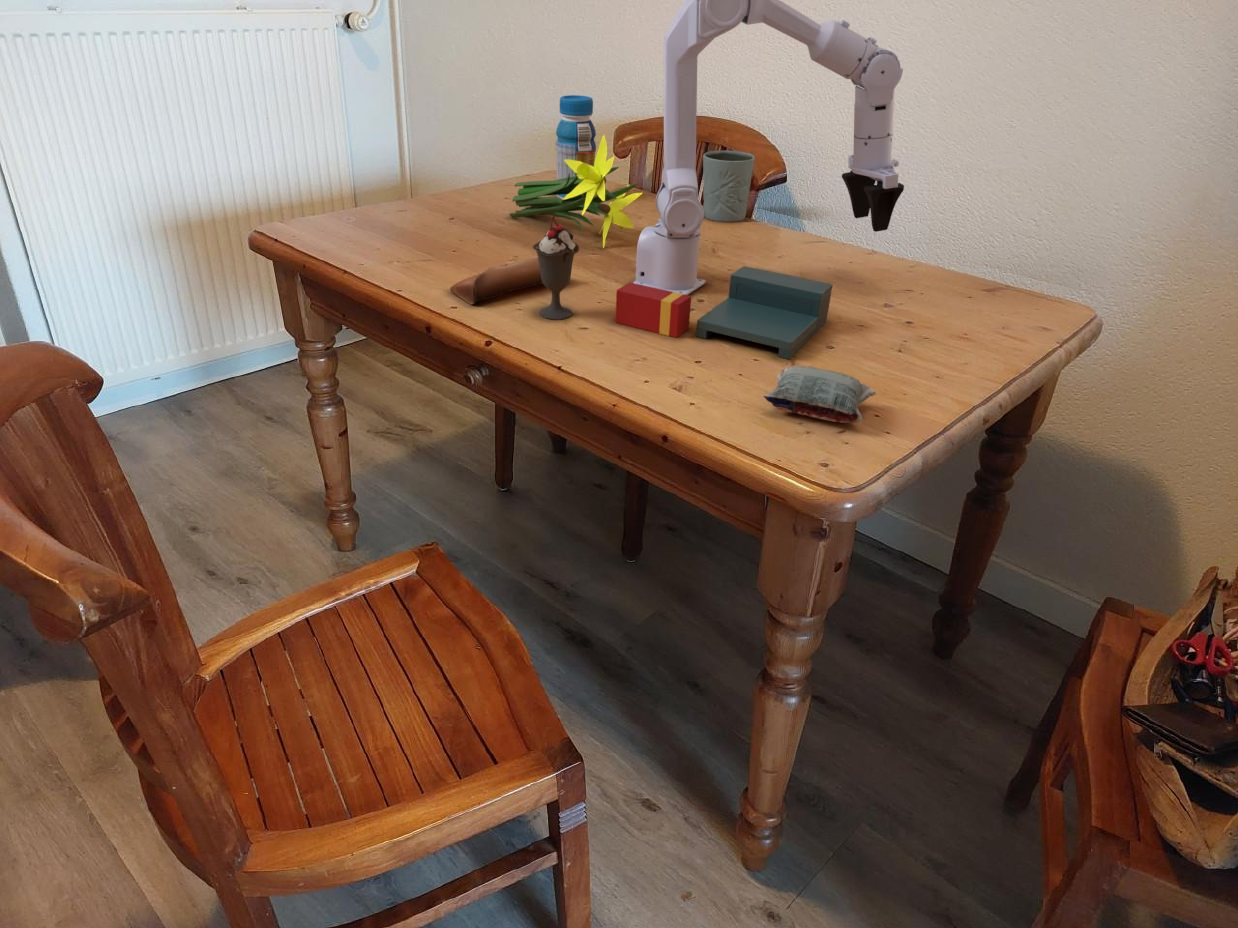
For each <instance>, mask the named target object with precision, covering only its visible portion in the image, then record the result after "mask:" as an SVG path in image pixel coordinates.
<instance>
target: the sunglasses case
mask: <svg viewBox="0 0 1238 928" xmlns="http://www.w3.org/2000/svg"><path fill="white" fill-rule="evenodd" d="M542 284H543V283H542V278H541V274H540V267H539V260H538V257H532V258H531V257H530V258H526V259H522V260H521V259H520V260H517V261H514V262H510V263H503V264H500V265H499V266H491V267H488V268H487V269H485V270H484V271H482V273H478V274H475V275H472V276H469V277H467V278H464V279H462V280H460V281H458V282H456V283H454V284H453V285H451V286H450V289H449V290H450V292H452V293H453V294H454V295H455V296H456V297H458V298H459V299H460V300H462V301H464V303H467V304H468V305H470V306H472V305H475V304H476V303H477V302H483V301H486V300H488V299H489V300H490V299H492V298H494V297H498V296H500V295H502V294H506V293H509V292H511V291H516V290H521V289H525V288H530V287H533V286H535V285H542ZM543 285H544V284H543Z"/></svg>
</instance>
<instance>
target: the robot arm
mask: <svg viewBox="0 0 1238 928" xmlns="http://www.w3.org/2000/svg"><path fill="white" fill-rule="evenodd" d="M741 23H743V24H744V25H749V26H750V25H756V24H761V23H762V24H765V25H766V26H768V27H770V28H772V29H774V30H776V31H778V32H780V33H782V34H784V35H786V36H788V37H790V38H792V39H794V40H795V41H798V42H799V43H802V44H803V45H806V47H807V49H808V54H809V57H810V59H811V61H812V62H814V63H817V64H819V65H820V66H822V67H824V68H826V69H828V70H829V71H831V72H833V73H835V74H837V75H838V76H840V77H842V78H844V79H846V80H850V82H851V83H852V84H853V85H854V86H855V87H854V107H853V108H854V109H853V154H851V155H850V154H849V155H848V160H847V161H848V169H849V170H850V171H849V172H843V173H841V178H842V180H843V182H844V184H845V186H846V189H847V191H848V195H849V199H850V204H851V208H852V213H853V216H854V218H855V219H863V218H867V217H869V214H870V220H871V227H872V232H875V233H876V232H882V231H887V230H888V229H889V225H890V223H891V219H892V215H893V212H894V209H895V207H896V205H897V203H898V200H899V198H900V197H901V194H902V193H903V192H904V190H905V185H904V184H903V183H901V182H899V173H897V172H896V167H899V166H900V161H899V160H898V159H895V158H893V146H894V145H893V143H894V142H893V141H894V124H895V123H894V122H895V121H894V119H895V93H896V91H895V89H896V87H897V86H898V84H899V83H900V81H901V79H902V76H903V71H904V69H903V68H901V63H900V62H901V61H900V60H899V59H898V58H899V57H898V56H897V55H896V54H895V52H893V51H891V50H889V49H886V48H883V47H881V46H880V47H879V45H878V44H877V41H878V40H877V39H875V38H874V37H872V36H868V37H867V38H866V37H864V36H863V35H861V34H860V33H857V32H855V31H854V30H852V29H850V28H849V27H850V25H851V24H850V23H849V22H848V21H846V20H844V19H839V20H838V21H836V20H835V19H829V20H827V21H824V22H822V23H818V22H816V21H815V20H814V19H812V18H810V17H808V16H807V15H805V14H803V13H802V12H800V11H798V10H797V9H795V8H794V7H792V6H790V5H789V4H787V3H786V2H783V1H782V0H683V2H682V4H681V6H680V8H679V10H678V11H677V13H676V15H675V16H674V19H673V20H672V22H671V24H670V25H669V27H668V30H667V31H666V33H665V34H664V37H663V167H662V168H663V169H662V173H661V183H660V188H659V189H658V191H657V194H656V197H655V207H656V211H657V213H658V214H659V216H660V218H659V219H658V220H657V222H656V224H655V225H654V226H652V225H647V226H646V227H644V228H643V229H642V231H641V232H640V234H639V237H638V240H637V246H636V258H635V259H636V261H635V263H636V264H635V279H634V281H633V282H632V283H635V284H640V285H644V286H649V287H653V288H657V289H662V290H666V291H671V292H677V293H681V294H684V295H690V294H691V293H694V292H695V291H696V290H698V289H699V288H701V287H702V286H703V285H705V284H706V280H705V279H702V278H698V277H697V276H698V265H699V255H700V253H699V252H700V244H701V243H700V242H701V241H700V240H701V227H702V224H703V222H704V218H705V217H704V210H703V204H702V202H701V201H700V198H699V184H698V176H697V170H696V169H697V167H696V166H697V115H698V113H697V112H698V111H697V108H698V106H697V105H698V58H699V54H700V53H701V52H702V51H704V49H706V48H707V47H708V45H709V44H711V42H713V41H714V39H716V38H718V37H721V36H722V35H724V34H726V33H728V32H730V31H733V29H735V28H736V27H738V26H739V25H740V24H741Z"/></svg>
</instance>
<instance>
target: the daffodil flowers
mask: <svg viewBox="0 0 1238 928" xmlns="http://www.w3.org/2000/svg"><path fill="white" fill-rule="evenodd" d="M607 155H608V144H607V139H606V134H603V135H602V137H601V140H600V142H599V146H598V149H597V151H596V154H595V161H594V167H593V166H591V165H589V164H586V163H583V162H580V161H575V160H570V159H565V160H564V161H565V162H566V164H567V165H568V166H569V167H570V168H571V169H572V170H573V171H574V172H575V173H576V174H577V175H576V176H573V177H570V173H569V175H568V178H563V179H558V180H557V179H553V180H532V181H519V182H516V183H515V184H514V187H522V188H519V189H518V190H517V195H514V196H513V197H512V199H511V202H513V203H515V205H516V206H518V208H522V209H520V210H518V209H517V210H515V211H514V212H510V213H509V217H511V218H512V219H514V218H524V217H530V216H548V217H553V216H555V218H563V219H566V220H570V221H573V222H574V223H576V225H577V226H578V227H579V229H580V231H581V232H582V233H584V230H583V227H582V225H581V223H580V221H583V222H584V223H586V224H587V225H590V226H592V227H594V228H595V227H596V226H595V225H594V223H593V222H591V220H589V219H588V218H587V217H586V216H584V214H585V212H586V213H590V214H592V215H596V216H601V215H603V216H604V217H603V223H602V224H603V225H602V226H601V228H600V230H599V232H598V233H599V234H598V236H600V235H601V232H602V249H604V248H605V246H606V239H607V235H608V232H609V230H610V226H611V224H613V225H615V226H616V225H617V226H619V228H620V229H622V230H625V228H627V229H635V228H634V227H635V225H634V224H633V222H632V221H631V216H630V215H627V214H626V213H624V212H623V211H622V210H623V209H624V208H626V207H627V206H628V205H630V204H631V203H632V202H634V201H636V200H637V199H638V198H639V197H640V196H641V195H643V192H634V193H631V194H628V195H627V196H626V193H627V192H630V191H631V190H633V189H634V188H635V187H636V186H638V185H639V182H637V183H634V184H628V185H626V186H625V187H621V188H619V189H617V190H613V191H610V190H608V189H606V183H607V178H606V176H608V175H610V174H611V173H613V172H615V171H616V170H618V169H619V166H613V164H614V160H615V157H616V156H615V155H614V156H612V157H610V158H609V159H607ZM584 192H585V193H584ZM562 194H567V195H566V196H565V198H564V199H565V200H562V199H561V198H560V197H557V196H556V195H562ZM568 198H569V199H568ZM612 200H613V201H612ZM608 201H610V202H608ZM605 202H608V204H607V203H605ZM578 211H582V212H581V213H578ZM578 219H579V220H580V221H578Z"/></svg>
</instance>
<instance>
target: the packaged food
mask: <svg viewBox="0 0 1238 928" xmlns="http://www.w3.org/2000/svg"><path fill="white" fill-rule="evenodd" d="M776 379H777V385H776V388H775V389H773V390H772V391H770V392H768V393H767V394H765V395H763V398H765V400H766V401H767V402H768V403H771V404H772V406H773V407H774V408H776V409H777V410H778V411H782V412H785V413H791V414H795V415H801V416H807V417H810V418H814V419H819V420H824V421H829V422H834V423H841V424H842V423H843V424H844V423H847V424H851V423H853V422H856V421H857V422H859V423H861V424H863V423H864V420H863V418H862V413H861V411H860V410H859V408H858V407H859V406H861V404H863V403H864V402H865V401H867V400H868V399H869V398H870V397H874V396H876V393H877V392H876V390H874V389H872V388H870V386H868V385H866V384H865V383H861V382H860V380H858V379H857V377H854V376H851V375H849V374H845V373H842V372H837V371H833V370H828V369H823V368H818V367H817V368H816V367H814V366H800V365H799V366H789V367H788V368H785V369H783V368H781V371H780V373H779V374H778V375H777V377H776Z"/></svg>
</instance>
